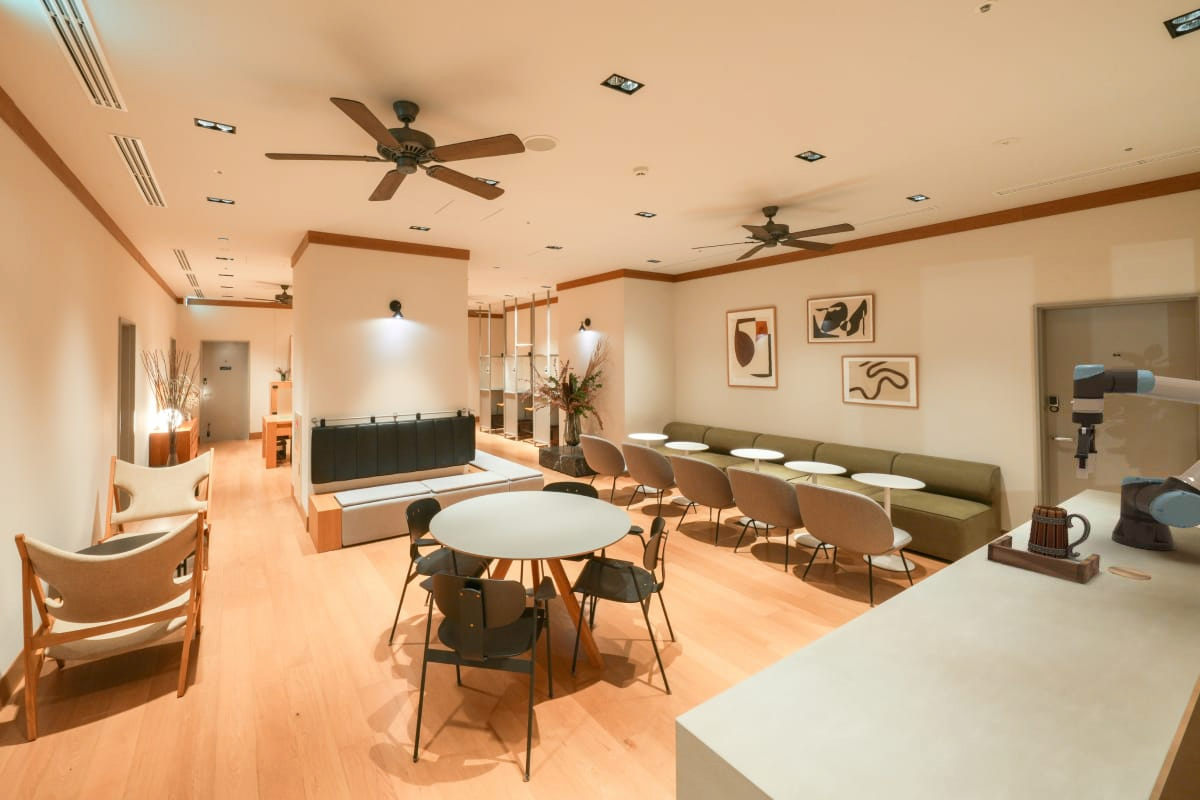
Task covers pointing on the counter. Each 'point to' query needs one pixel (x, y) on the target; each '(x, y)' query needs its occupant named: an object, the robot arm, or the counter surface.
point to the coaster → (1129, 573)
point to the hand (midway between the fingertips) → (1085, 475)
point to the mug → (1054, 532)
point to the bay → (1042, 562)
